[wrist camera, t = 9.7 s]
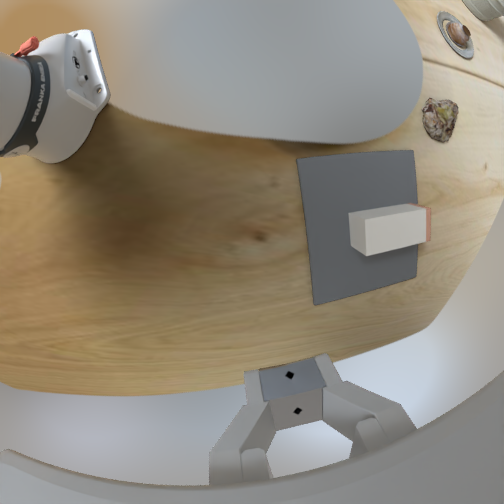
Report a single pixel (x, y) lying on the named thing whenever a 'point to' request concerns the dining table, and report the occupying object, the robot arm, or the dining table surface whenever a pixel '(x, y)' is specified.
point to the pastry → (456, 34)
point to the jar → (486, 8)
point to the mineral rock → (439, 118)
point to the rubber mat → (337, 219)
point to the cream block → (389, 228)
